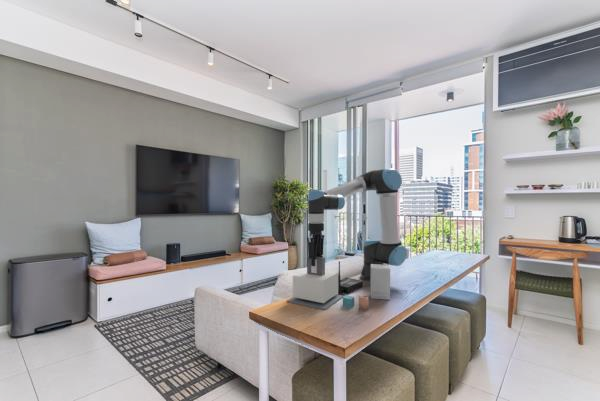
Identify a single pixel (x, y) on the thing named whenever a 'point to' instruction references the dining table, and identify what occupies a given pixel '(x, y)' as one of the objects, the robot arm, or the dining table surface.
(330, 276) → the cover
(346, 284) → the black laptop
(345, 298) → the teal cube
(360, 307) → the terracotta cylinder
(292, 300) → the pad
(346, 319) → the dining table surface
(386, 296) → the supplement box
